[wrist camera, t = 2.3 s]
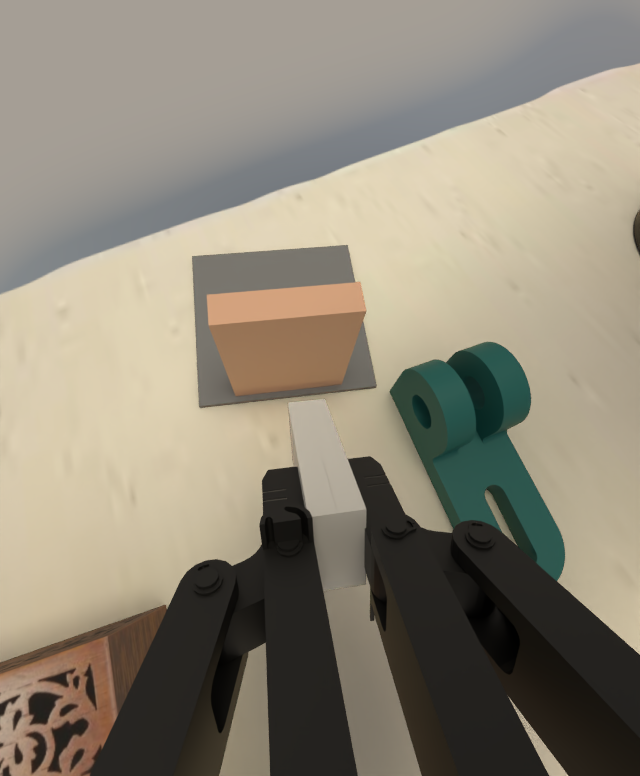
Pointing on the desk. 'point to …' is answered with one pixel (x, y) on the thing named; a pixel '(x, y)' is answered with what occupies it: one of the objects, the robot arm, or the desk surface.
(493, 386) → the bracket
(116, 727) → the robot arm
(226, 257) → the mat
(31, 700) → the tissue box cover
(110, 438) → the desk surface
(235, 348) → the tile
